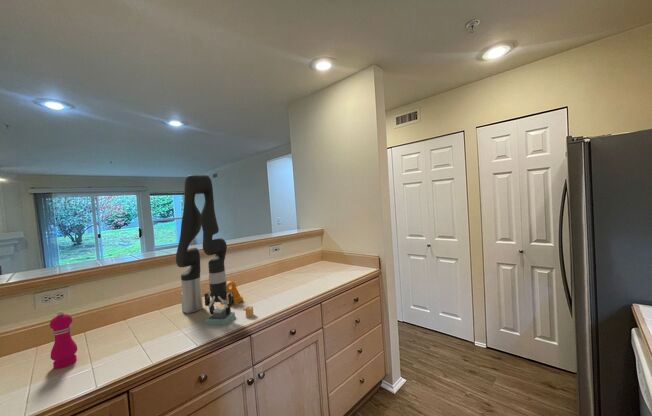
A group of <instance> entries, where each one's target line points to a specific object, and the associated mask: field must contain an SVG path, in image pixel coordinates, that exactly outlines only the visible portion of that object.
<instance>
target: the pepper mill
mask: <svg viewBox="0 0 652 416" xmlns="http://www.w3.org/2000/svg"><path fill="white" fill-rule="evenodd" d="M72 322H73V317H72V316H71V315H70V314H68V313H67V314H65V312H64V311H63V310H59V311H58V312H57V313H56V316H55V317H53V318H52V319H51V320H50V322H49V328H50V329H51V330H52V335H53V336H54V343H53V345H52V348H51V350H50V359H51V360H52V361H53V363H52V364H53V369H63V368H66V367H68V366H71V365H73V364H74V363H75V362H77V359H78V358H77V355H76V353H77V352H78V345H77V344H76V342H75V340H74V339H73V338H72V335H71V330H72V325H71V324H72Z"/></svg>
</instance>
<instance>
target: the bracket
mask: <svg viewBox="0 0 652 416" xmlns="http://www.w3.org/2000/svg"><path fill="white" fill-rule="evenodd" d="M226 285H227V290H226V291H227V293H231V292H233V297H234V304H233V305H232V306H234V305H238V304H240V302H242V301H244V297H243V296H242V295H241V294H240V292H239V290H238V289H237V285H236V283H235V282H234V281H232V280H226ZM227 298H228V296H227ZM228 300H229V299H228ZM224 301H225V300H224ZM219 303H220V305H224V304H223V303H222V302H219Z"/></svg>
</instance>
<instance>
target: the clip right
mask: <svg viewBox="0 0 652 416" xmlns="http://www.w3.org/2000/svg"><path fill="white" fill-rule="evenodd" d="M243 311H244V312H245V318H251V317H253V316H254V306H245V307H244V308H243Z"/></svg>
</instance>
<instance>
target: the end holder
mask: <svg viewBox="0 0 652 416" xmlns="http://www.w3.org/2000/svg"><path fill="white" fill-rule="evenodd" d="M226 316H227V318H226V319H214V314H213V315H211V314H210V316H208V317H206V318H205V324H206V325H210V326H211V325H212V326H227V325H228V324H229V323H230V322H231V321H233V320H234V319H235V318H236V313H235V311H231V312H230V314H229V315H226Z"/></svg>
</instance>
